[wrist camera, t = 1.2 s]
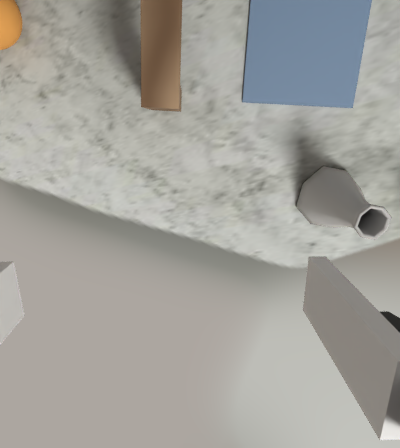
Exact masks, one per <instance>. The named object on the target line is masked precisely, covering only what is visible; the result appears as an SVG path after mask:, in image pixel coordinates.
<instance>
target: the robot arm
mask: <svg viewBox="0 0 400 448" xmlns="http://www.w3.org/2000/svg"><path fill="white" fill-rule="evenodd" d="M304 297H305V298H304V305H303V311H304V312H305V314H306V316H307V317H308V319H309V321H310V322H311V324H312V326H313V327H314V329H315V331H316V333H317V334H318V336H319V338H320V339H321V341H322V343H323V344H324V346H325V348H326V349H327V351H328V353H329V355H330V356H331V358H332V360H333V361H334V363H335V365H336V366H337V368H338V370H339V372H340V373H341V375H342V377H343V378H344V380H345V382H346V384H347V385H348V387H349V389H350V390H351V392H352V394H353V395H354V397H355V399H356V400H357V402H358V404H359V406H360V407H361V409H362V411H363V412H364V414H365V416H366V417H367V419H368V421H369V423H370V424H371V426H372V428H373V429H374V431H375V433H376V434H377V436H378V438H379V440H399V439H400V318H399V317H397V316H395V315H393V314H392V313H390V312H379V311H378V310H377V309H376V308H375V307H374V306H373V305H372V304H371V303H370V302H369V301H368V300H367V299H366V298H365V297H364V296H363V295H362V293H361V292H359V290H358V289H357V288H355V286H354V285H353V284H352V283H351V282H350V281H349V280H348V279H347V278H346V277H345V276H344V275H343V274H342V273H341V272H340V271H339V270H338V269H337V268H336V267H335V266H334V265H333V264H332V263H331V262H330V261H329V260H328V259H327V257H309V260H308V269H307V278H306V287H305V296H304ZM23 317H24V311H23V306H22V301H21V296H20V291H19V286H18V280H17V275H16V270H15V266H14V262H0V345H1V343H2V342H3V341H4V340H5V338H6V337H7V336H8V335H9V334H10V333H11V331H12V330H13V329H14V328H15V327H16V325H17V324H18V323H19V322H20V320H21V319H22V318H23Z"/></svg>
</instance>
